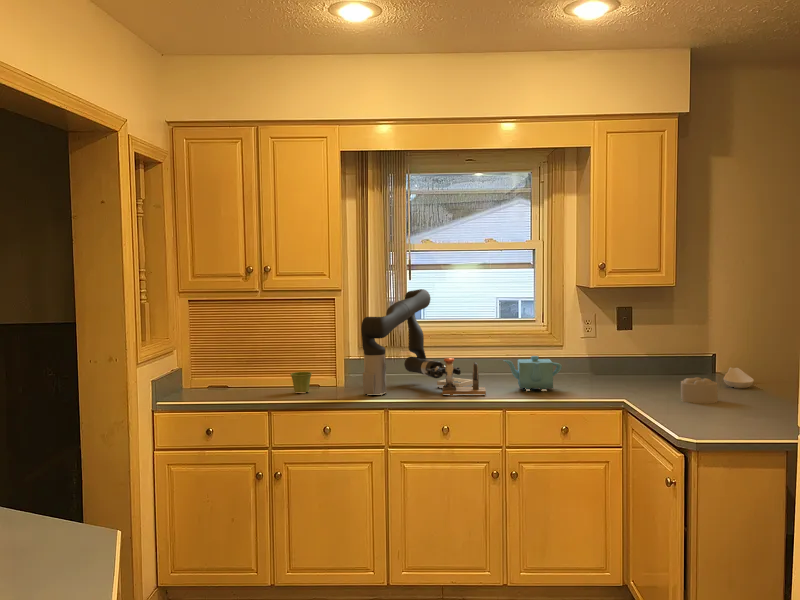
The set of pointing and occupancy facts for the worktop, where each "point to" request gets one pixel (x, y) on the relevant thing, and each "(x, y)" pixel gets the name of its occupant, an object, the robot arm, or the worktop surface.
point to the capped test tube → (449, 371)
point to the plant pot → (301, 381)
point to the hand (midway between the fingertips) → (450, 373)
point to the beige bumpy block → (699, 390)
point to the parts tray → (463, 383)
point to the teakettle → (534, 372)
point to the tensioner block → (467, 390)
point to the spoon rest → (737, 378)
